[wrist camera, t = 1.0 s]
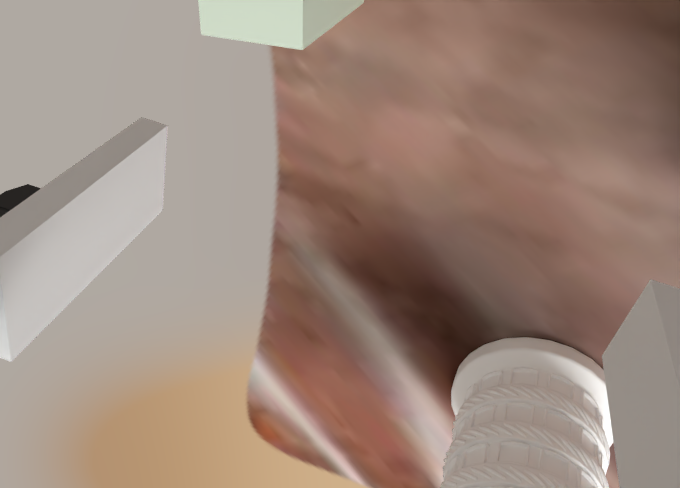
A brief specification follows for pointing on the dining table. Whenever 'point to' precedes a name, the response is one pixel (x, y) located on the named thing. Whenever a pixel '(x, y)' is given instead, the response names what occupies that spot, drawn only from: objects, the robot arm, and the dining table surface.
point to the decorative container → (528, 418)
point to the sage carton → (273, 20)
